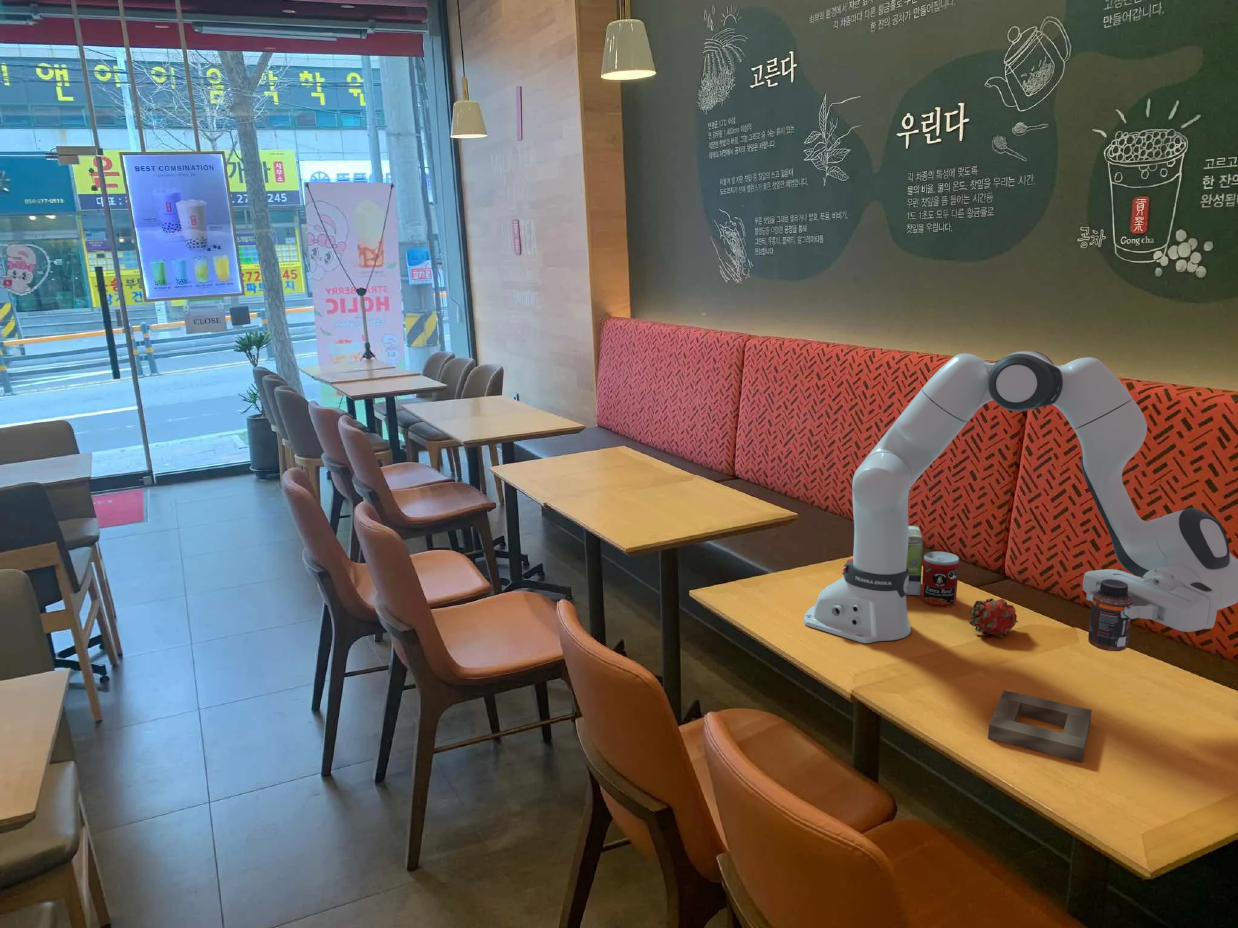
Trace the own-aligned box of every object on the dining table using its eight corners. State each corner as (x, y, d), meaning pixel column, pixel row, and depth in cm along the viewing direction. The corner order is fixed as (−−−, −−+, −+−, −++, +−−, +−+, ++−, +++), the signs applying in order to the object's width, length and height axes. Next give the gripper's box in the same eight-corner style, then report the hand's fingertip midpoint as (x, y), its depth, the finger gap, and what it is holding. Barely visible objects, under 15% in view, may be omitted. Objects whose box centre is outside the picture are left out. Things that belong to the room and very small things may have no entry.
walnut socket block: (987, 738, 146) (988, 724, 145) (1002, 702, 157) (1003, 689, 156) (1081, 762, 138) (1083, 748, 138) (1090, 723, 150) (1091, 709, 149)
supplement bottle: (1132, 654, 145) (1140, 590, 143) (1093, 651, 146) (1101, 588, 144) (1120, 638, 151) (1127, 577, 148) (1083, 636, 152) (1089, 575, 149)
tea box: (916, 582, 216) (920, 524, 212) (920, 597, 206) (924, 537, 203) (853, 578, 219) (856, 521, 216) (854, 592, 209) (857, 533, 206)
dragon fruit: (965, 644, 184) (1006, 641, 189) (995, 633, 177) (1037, 631, 182) (953, 604, 188) (994, 603, 193) (982, 593, 181) (1024, 592, 186)
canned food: (920, 605, 201) (923, 560, 199) (921, 593, 208) (924, 549, 206) (955, 609, 198) (959, 564, 196) (956, 597, 205) (959, 553, 203)
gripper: (1119, 557, 160) (1060, 567, 156) (1228, 595, 141) (1164, 608, 137) (1115, 589, 161) (1057, 600, 157) (1222, 632, 143) (1160, 646, 138)
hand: (1108, 604), depth 147 cm, fingers closed on supplement bottle, 6 cm apart
